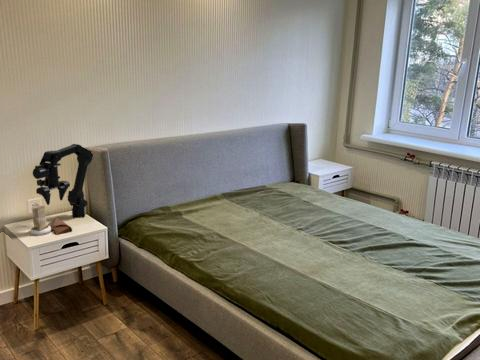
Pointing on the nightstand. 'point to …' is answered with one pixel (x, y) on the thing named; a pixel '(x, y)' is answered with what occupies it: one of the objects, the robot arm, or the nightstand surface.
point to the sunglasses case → (59, 227)
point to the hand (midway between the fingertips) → (54, 202)
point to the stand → (42, 232)
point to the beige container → (39, 218)
